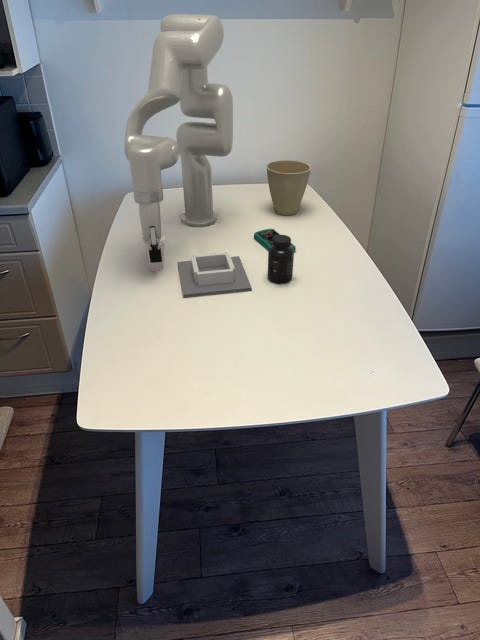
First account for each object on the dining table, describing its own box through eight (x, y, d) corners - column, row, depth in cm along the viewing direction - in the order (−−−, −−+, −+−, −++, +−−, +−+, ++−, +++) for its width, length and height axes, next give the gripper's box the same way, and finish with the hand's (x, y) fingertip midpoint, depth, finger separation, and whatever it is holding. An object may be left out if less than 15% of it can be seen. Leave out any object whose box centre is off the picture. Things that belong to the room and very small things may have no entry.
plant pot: (309, 219, 167) (313, 173, 158) (265, 219, 167) (267, 173, 158) (305, 203, 179) (308, 159, 170) (264, 203, 179) (265, 159, 170)
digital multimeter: (272, 234, 158) (273, 226, 157) (296, 253, 147) (296, 245, 146) (252, 239, 156) (252, 230, 154) (274, 259, 145) (275, 250, 143)
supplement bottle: (262, 278, 135) (263, 238, 128) (278, 269, 139) (279, 230, 132) (281, 287, 131) (283, 246, 124) (297, 277, 135) (300, 238, 128)
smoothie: (150, 276, 136) (144, 230, 128) (142, 266, 140) (136, 220, 132) (171, 270, 138) (167, 225, 130) (163, 261, 143) (159, 216, 135)
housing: (177, 264, 141) (176, 250, 138) (239, 259, 144) (238, 245, 141) (183, 297, 127) (182, 282, 124) (251, 290, 129) (251, 276, 127)
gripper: (133, 184, 133) (141, 244, 144) (134, 208, 119) (142, 272, 130) (161, 182, 134) (167, 241, 145) (165, 205, 120) (171, 269, 131)
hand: (155, 255), depth 137 cm, fingers closed on smoothie, 5 cm apart
